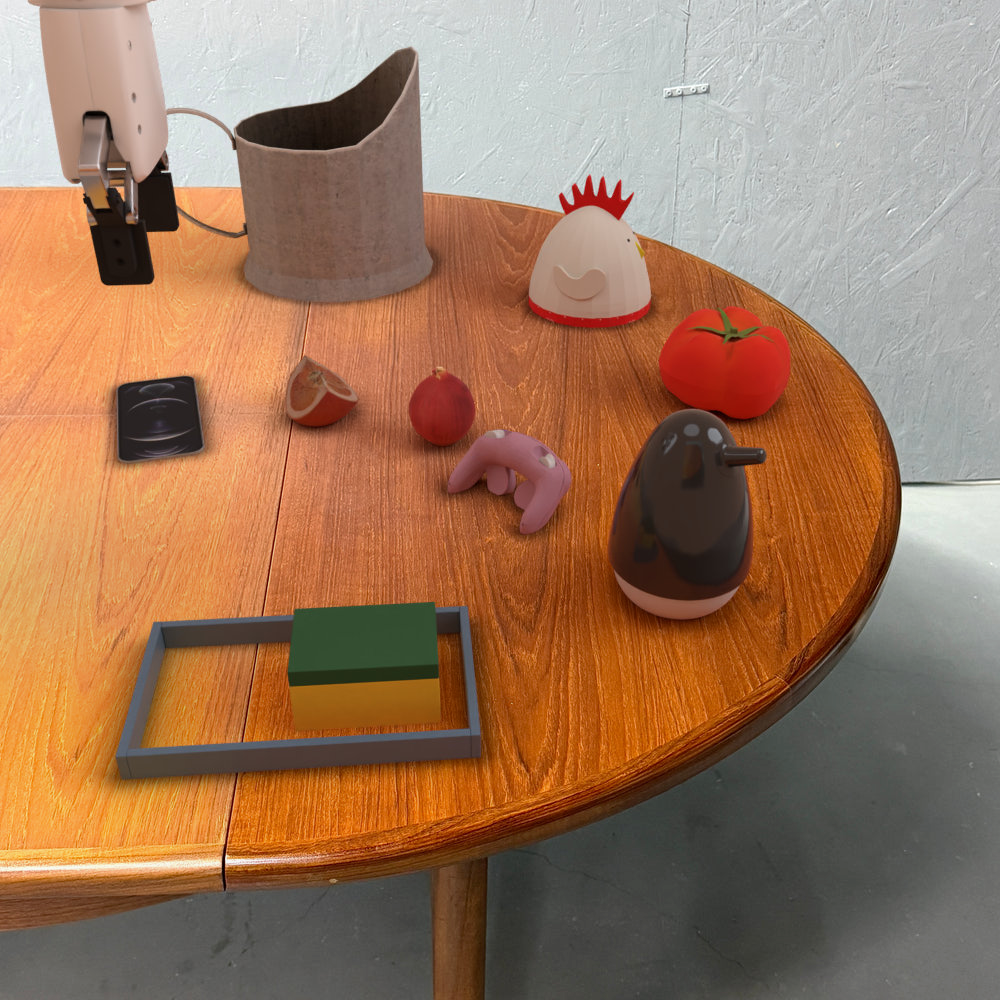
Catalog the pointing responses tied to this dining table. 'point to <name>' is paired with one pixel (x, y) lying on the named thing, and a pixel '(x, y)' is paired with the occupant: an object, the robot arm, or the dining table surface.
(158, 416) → the smartphone
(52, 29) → the robot arm
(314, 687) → the sponge
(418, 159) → the pitcher
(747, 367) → the tomato
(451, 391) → the onion
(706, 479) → the pump dispenser
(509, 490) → the video game controller
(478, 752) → the rectangular frame
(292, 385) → the fruit slice
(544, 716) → the dining table surface
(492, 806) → the dining table surface
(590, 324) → the kitchen timer
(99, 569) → the dining table surface
